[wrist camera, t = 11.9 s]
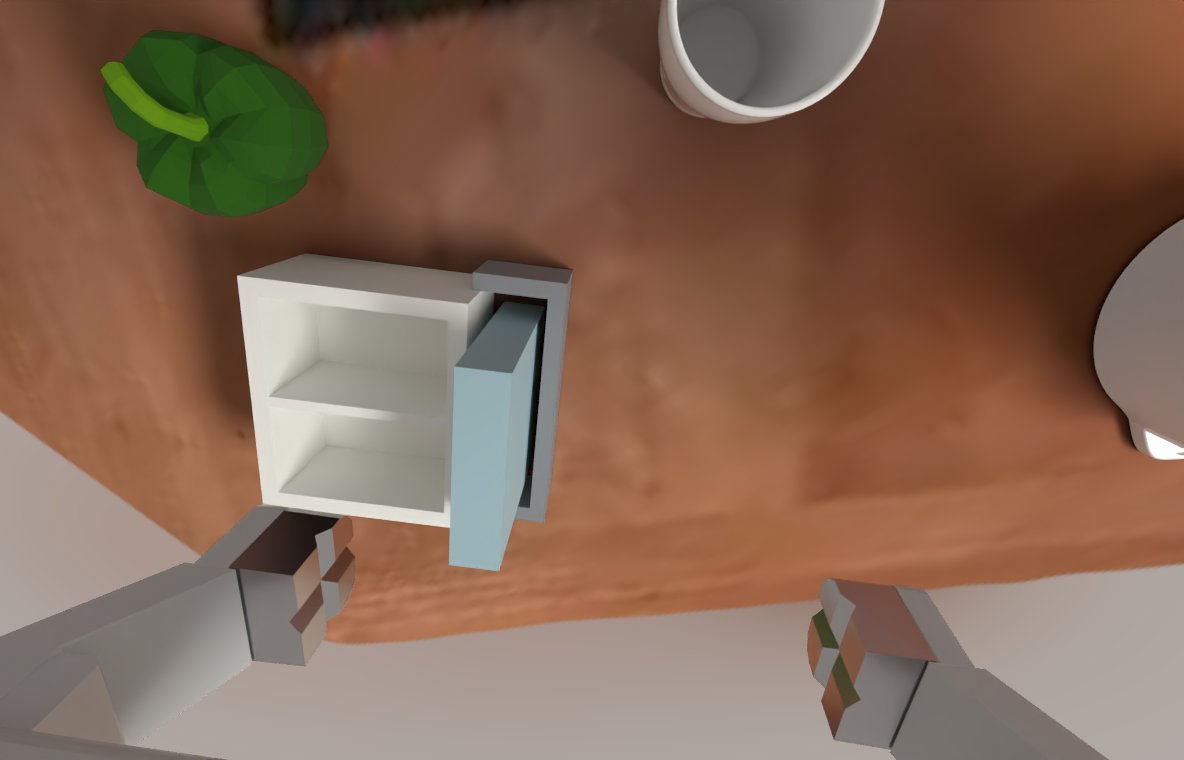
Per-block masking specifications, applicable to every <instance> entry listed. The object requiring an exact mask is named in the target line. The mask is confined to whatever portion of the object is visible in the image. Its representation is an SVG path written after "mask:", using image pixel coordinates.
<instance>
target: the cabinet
mask: <svg viewBox="0 0 1184 760" xmlns="http://www.w3.org/2000/svg"><path fill="white" fill-rule="evenodd" d="M572 274H573V270H568V269H560V268H551V267H543V266H535V265H527V264H519V263H511V262H503V261H494V260H487V261H486V262H485V263H484V264H482V265H481V266H480V267H479V268H478V269H476V270H475V271H474V272H473V274H470V273H462V272H454V271H445V270H437V269H429V268H421V267H413V266H405V265H397V264H388V263H380V262H372V261H364V260H356V259H348V258H340V257H331V256H323V255H315V254H307V253H305V254H302V255H299V256H296V257H293V258H290V259H287V260H284V261H280V262H277V263H274V264H271V265H268V266H265V267H262V268H259V269H256V270H253V271H250V272H247V273H244V274H241V275H238V276H237V280H238V289H239V298H240V306H241V315H242V324H243V333H244V341H245V350H246V359H247V367H248V376H249V385H250V394H251V402H252V411H253V420H254V428H255V437H256V446H257V455H258V463H259V472H260V481H261V489H262V498H263V504H269V505H276V506H283V507H289V508H299V509H305V510H312V511H319V512H327V513H336V514H344V515H352V516H360V517H368V518H376V519H384V520H392V521H400V522H408V523H416V524H425V525H433V526H441V527H449V528H450V510H451V473H452V436H453V399H454V366H455V365H456V364H457V362H458V361H459V360H460V359H461V357H462V356H463V355H464V353H465V352H466V351H467V349H468V348H469V347H470V346H471V344H472V343H473V342H474V340H475V339H476V338H477V337H478V335H479V334H480V333H481V331H482V330H483V329H484V327H485V326H486V325H487V324H488V322H489V321H490V320H491V318H492V317H493V312H494V293H501V294H510V295H518V296H526V297H534V298H542V299H548V305H547V316H546V328H545V339H544V351H543V362H542V374H541V385H540V397H539V408H538V420H537V431H536V443H535V454H534V466H533V476H532V475H527V477H526V480H525V483H524V487H523V490H522V494H521V497H520V501H519V504H518V507H517V511H516V514H515V518H514V519H517V520H525V521H533V522H541V523H544V519H545V514H546V510H547V505H548V500H549V495H550V490H551V481H552V471H553V461H554V451H555V442H556V432H557V422H558V412H559V402H560V392H561V383H562V373H563V363H564V353H565V343H566V333H567V323H568V314H569V304H570V294H571V284H572Z"/></svg>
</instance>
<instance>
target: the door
mask: <svg viewBox="0 0 1184 760" xmlns="http://www.w3.org/2000/svg"><path fill="white" fill-rule="evenodd" d="M544 313H545V306H537V305H529V304H521V303H513V302H504V303H503V304H502V305H501V307H500V308H499V309H498V311H497V312H496V313H495V315H494V316H493V317H492V318H491V320H490V321H489V322H488V324H487V325H486V326H485V327H484V329H483V330H482V331H481V333H480V334H479V335H478V337H477V338H476V339H475V340H474V342H473V343H472V344H471V346H470V347H469V348H468V349H467V351H466V352H465V353H464V355H463V356H462V357H461V359H460V360H459V361H458V362H457V364H456V365H455V366H454V399H453V436H452V473H451V510H450V547H449V565H454V566H462V567H470V568H478V569H487V570H495V571H499V569H500V566H501V562H502V559H503V556H504V552H505V549H506V545H507V542H508V538H509V535H510V532H511V528H512V525H513V521H514V518H515V514H516V511H517V507H518V504H519V501H520V497H521V494H522V490H523V487H524V483H525V480H526V477H527V473H528V470H529V466H530V463H531V459H532V453H533V441H534V430H535V418H536V406H537V395H538V383H539V371H540V360H541V348H542V336H543V325H544Z"/></svg>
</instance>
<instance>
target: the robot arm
mask: <svg viewBox="0 0 1184 760" xmlns="http://www.w3.org/2000/svg"><path fill="white" fill-rule="evenodd" d="M1094 362H1095V368H1096V371H1097V375H1098V377H1099V380H1100V382H1101V384H1102V386H1103V388H1104V390H1105V391H1106V393H1107V394H1108V395H1109V397H1110V398H1111V399H1112V400H1113V401H1114V402H1115V403H1116V404H1117V405H1118V406H1119V407H1120V408H1121V409H1122V410H1123V412H1124V413H1125V414H1126V416H1127V417H1128V419H1129V423H1130V429H1131V434H1132V438H1133V442H1134V444H1135V446H1136V448H1137V449H1138V450H1139V451H1140V452H1142V453H1144V454H1146V455H1148V456H1151V457H1153V458H1156V459H1162V460H1167V459H1184V219H1182V220H1181V221H1179V222H1177V223H1176V224H1174V225H1173V226H1171V227H1170V228H1168V229H1167V230H1166V231H1164V232H1163V233H1162V234H1160V235H1159V236H1158V237H1157V238H1155V239H1154V240H1153V241H1152V242H1151V243H1150V244H1148V245H1147V246H1146V247H1145V248H1144V249H1143V250H1142V251H1141V252H1140V253H1139V254H1138V255H1137V256H1136V257H1135V258H1134V260H1133V261H1132V262H1131V263H1130V264H1129V265H1128V267H1127V268H1126V269H1125V270H1124V272H1123V273H1122V274H1121V276H1120V277H1119V278H1118V280H1117V282H1116V283H1115V285H1114V286H1113V288H1112V290H1111V291H1110V293H1109V295H1108V297H1107V299H1106V301H1105V303H1104V305H1103V308H1102V310H1101V313H1100V316H1099V319H1098V322H1097V326H1096V331H1095V337H1094ZM352 537H353V528H352V520H351V519H350V518H348V517H347V516H345V515H338V514H332V513H325V512H319V511H312V510H305V509H299V508H289V507H283V506H276V505H269V504H262V505H259V506H256V507H254V508H253V509H252V510H251V511H250V512H249V513H248V514H247V515H246V516H245V517H244V518H243V519H241V520H240V521H239V522H238V523H237V524H236V525H235V526H234V527H233V528H232V529H231V530H230V531H229V532H227V533H226V534H225V535H224V536H223V537H222V538H221V539H220V540H219V541H218V542H217V543H216V544H215V545H213V546H212V547H211V548H210V549H209V550H208V551H207V552H206V553H205V554H204V555H203V556H202V557H201V558H199V559H198V560H197V561H196V562H195V563H194V564H191V563H183V564H180V565H178V566H175V567H173V568H170V569H168V570H165V571H163V572H160V573H158V574H155V575H153V576H150V577H148V578H145V579H143V580H140V581H138V582H135V583H133V584H130V585H128V586H125V587H123V588H120V589H118V590H115V591H113V592H110V593H108V594H105V595H103V596H100V597H98V598H96V599H93V600H90V601H88V602H85V603H83V604H80V605H78V606H76V607H73V608H71V609H68V610H66V611H63V612H61V613H58V614H55V615H53V616H51V617H48V618H46V619H43V620H41V621H38V622H36V623H33V624H31V625H28V626H26V627H23V628H21V629H18V630H16V631H13V632H11V633H8V634H6V635H3V636H1V637H0V760H225V759H218V758H211V757H205V756H198V755H191V754H184V753H177V752H170V751H164V750H157V749H150V748H142V747H136V746H134V745H135V744H137V743H138V742H139V741H141V740H142V739H144V738H145V737H147V736H148V735H150V734H151V733H153V732H154V731H155V730H157V729H158V728H160V727H161V726H163V725H164V724H166V723H167V722H168V721H170V720H171V719H173V718H174V717H176V716H177V715H179V714H180V713H181V712H183V711H184V710H186V709H187V708H189V707H190V706H192V705H193V704H195V703H196V702H198V701H199V700H200V699H202V698H203V697H205V696H206V695H208V694H209V693H210V692H212V691H213V690H215V689H216V688H218V687H219V686H221V685H222V684H224V683H225V682H226V681H228V680H229V679H231V678H232V677H234V676H235V675H237V674H238V673H239V672H241V671H242V670H244V669H245V668H247V667H248V666H250V665H251V664H252V661H260V662H270V663H279V664H288V665H298V666H306V664H307V663H308V662H309V660H310V659H311V657H312V655H313V654H314V652H315V651H316V649H317V648H318V646H319V645H320V643H321V642H322V640H323V639H324V637H325V636H326V634H327V630H326V621H327V620H328V619H330V618H332V617H334V616H335V615H337V614H339V613H340V612H341V611H342V609H343V607H344V606H345V604H346V602H347V601H348V599H349V596H350V593H351V591H352V588H353V585H354V581H355V573H356V561H355V556H354V555H353V554H352V552H351V551H350V550H349V549H348V548H347V544H348V543H349V542H350V540H351V539H352ZM819 599H820V602H821V604H822V607H823V609H822V610H821V611H820V612H818V613H817V614H816V615H814V616H813V617H812V619H811V623H810V627H809V631H808V644H807V651H808V658H809V664H810V667H811V670H812V674H813V677H814V678H815V679H816V680H817V681H818V682H819V683H820V684H821V685H822V686H823V687H824V688H825V691H824V694H823V697H822V700H821V702H822V705H823V708H824V711H825V714H826V717H827V720H828V723H829V726H830V730H831V732H832V736H833V739H834V740H837V741H842V742H848V743H855V744H860V745H866V746H872V747H878V748H884V749H890V750H891V752H890V753H891V754H892V755H893V756H894V757H895V759H896V760H1108V759H1107V758H1105V757H1104V756H1103V755H1101V754H1100V753H1099V752H1097V751H1096V750H1095V749H1093V748H1092V747H1091V746H1089V745H1088V744H1087V743H1085V742H1084V741H1082V740H1081V739H1080V738H1078V737H1077V736H1076V735H1074V734H1073V733H1072V732H1070V731H1069V730H1068V729H1066V728H1065V727H1063V726H1062V725H1061V724H1059V723H1058V722H1056V721H1055V720H1054V719H1052V718H1051V717H1050V716H1048V715H1047V714H1046V713H1044V712H1043V711H1042V710H1040V709H1039V708H1037V707H1036V706H1035V705H1033V704H1032V703H1031V702H1029V701H1028V700H1026V699H1025V698H1024V697H1022V696H1021V695H1020V694H1018V693H1017V692H1016V691H1014V690H1013V689H1012V688H1010V687H1009V686H1007V685H1006V684H1005V683H1003V682H1002V681H1000V680H999V679H998V678H997V677H995V676H994V675H992V674H991V673H990V672H988V671H987V670H985V669H979V668H975V667H974V665H973V664H972V662H971V661H970V659H969V658H968V656H967V654H966V653H965V651H964V650H963V648H962V646H961V645H960V643H959V642H958V640H957V639H956V637H955V636H954V634H953V632H952V631H951V629H950V628H949V626H948V625H947V623H946V621H945V620H944V619H943V617H942V615H941V614H940V612H939V611H938V609H937V607H936V606H935V604H934V603H933V601H932V600H931V598H930V597H929V595H928V593H927V592H925V591H924V590H923V589H921V588H918V587H909V586H899V585H882V584H874V583H865V582H857V581H849V580H841V579H833V578H827V579H826V580H825V582H824V583H823V584H822V587H821V590H820V593H819Z"/></svg>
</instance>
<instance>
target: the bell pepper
mask: <svg viewBox="0 0 1184 760" xmlns="http://www.w3.org/2000/svg"><path fill="white" fill-rule="evenodd" d="M101 73H102V75H103V77H104V79H105V80H106V83H105V85H104V86H103V90H104V93H105V96H106V98H107V101H108V104H109V107H110V109H111V112H112V115H113V118H114V121H115V123H116V126H117V128H119V129H120V130H121V131H123V132H124V133H126V134H127V135H128V136H130V137H131V138H133V139H134V140H135V141H137V142H138V153H137V167H138V170H139V172H140V174H141V176H142V179H143V181H144V183H145V186H146V188H148V189H150V190H152V191H155V192H157V193H159V194H161V195H163V196H165V197H167V198H170V199H172V200H174V201H176V202H179V203H181V204H183V205H185V206H187V207H190V208H192V209H194V210H196V211H198V212H201V213H203V214H207V215H218V216H229V217H238V216H243V215H248V214H253V213H258V212H261V211H263V210H266V209H268V208H271V207H273V206H276V205H278V204H281V203H283V202H285V201H287V200H288V199H289V198H291V197H292V196H294V195H295V194H296V193H298V192H299V191H300V190H301V189H302V188H303V187H304V186H305V185H306V181H307V173H309V172H311V171H312V170H314V169H315V168H316V167H317V166H318V165H319V163H320V161H321V159H322V157H323V155H324V153H325V151H326V149H327V147H328V139H327V132H326V126H325V119H324V116H323V114H322V113H321V111H320V110H319V108H318V107H317V105H316V104H315V102H314V101H313V99H312V98H311V96H310V95H309V93H308V92H307V90H306V89H305V88H304V87H303V86H302V85H300V84H299V83H298V82H297V81H296V80H294V79H293V78H291V77H289V76H288V75H286V74H285V73H283V72H282V71H280V70H278V69H277V68H275V67H274V66H272V65H270V64H269V63H267V62H265V61H264V60H262V59H261V58H259V57H257V56H256V55H254V54H253V53H251V52H248V51H245V50H241V49H238V48H235V47H231V46H228V45H225V44H224V43H222V42H220V41H217V40H214V39H211V38H207V37H204V36H201V35H198V34H193V33H181V32H169V31H157V30H153V31H151V32H149V33H147V34H146V35H144V36H142V37H141V38H140V39H139V40H138V42H137V43H136V44H135V46H134V47H133V48H132V50H131V51H130V52H129V54H128V55H127V57H126V58H125V59H124V61H123V62H122V63H118V62H108V63H107V64H106V65H105V66H104V67H103V68H102V69H101Z"/></svg>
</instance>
